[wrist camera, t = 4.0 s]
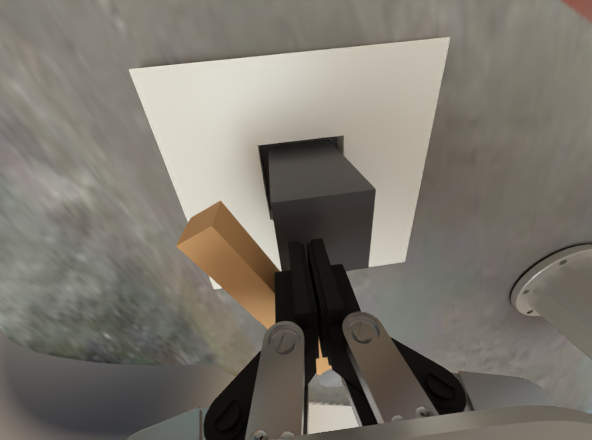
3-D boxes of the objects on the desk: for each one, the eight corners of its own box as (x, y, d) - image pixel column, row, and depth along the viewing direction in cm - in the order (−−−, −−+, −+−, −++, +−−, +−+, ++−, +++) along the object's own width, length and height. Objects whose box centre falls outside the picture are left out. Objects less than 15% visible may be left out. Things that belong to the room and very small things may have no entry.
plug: (328, 139, 20) (375, 189, 11) (329, 194, 22) (368, 267, 14) (268, 146, 20) (270, 202, 11) (276, 201, 22) (283, 279, 14)
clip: (231, 186, 11) (221, 220, 8) (347, 335, 18) (360, 378, 16) (189, 210, 11) (167, 251, 9) (319, 346, 18) (327, 390, 16)
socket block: (432, 40, 17) (574, 12, 9) (396, 250, 27) (449, 321, 19) (143, 69, 16) (26, 66, 8) (217, 275, 26) (196, 361, 18)
